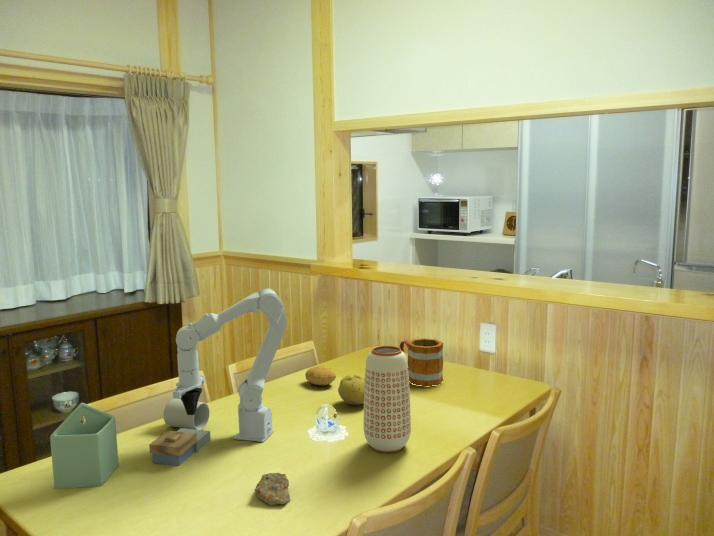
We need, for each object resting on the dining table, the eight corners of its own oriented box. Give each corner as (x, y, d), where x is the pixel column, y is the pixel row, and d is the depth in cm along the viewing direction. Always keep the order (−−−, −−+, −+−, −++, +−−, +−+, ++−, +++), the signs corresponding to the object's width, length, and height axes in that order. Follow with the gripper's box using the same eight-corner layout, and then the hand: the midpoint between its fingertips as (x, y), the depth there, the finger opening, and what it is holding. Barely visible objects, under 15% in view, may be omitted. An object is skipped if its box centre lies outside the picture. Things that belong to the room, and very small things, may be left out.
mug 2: (450, 381, 220) (451, 342, 218) (427, 390, 211) (427, 349, 209) (412, 370, 235) (412, 333, 233) (388, 377, 226) (388, 340, 224)
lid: (196, 441, 163) (196, 430, 163) (179, 456, 155) (179, 444, 154) (168, 438, 165) (167, 428, 165) (149, 452, 157) (148, 441, 156)
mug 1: (160, 424, 177) (190, 429, 173) (167, 395, 180) (197, 400, 176) (182, 429, 188) (211, 433, 184) (189, 402, 190) (218, 406, 187)
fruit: (332, 408, 195) (332, 379, 194) (346, 396, 206) (345, 369, 205) (363, 412, 191) (363, 383, 190) (376, 400, 202) (375, 372, 200)
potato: (323, 378, 227) (322, 360, 226) (341, 386, 216) (341, 368, 215) (302, 382, 221) (301, 365, 220) (320, 392, 211) (319, 373, 210)
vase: (415, 439, 170) (415, 345, 166) (404, 459, 157) (403, 358, 153) (372, 434, 174) (370, 341, 170) (357, 453, 161) (355, 354, 158)
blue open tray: (194, 452, 163) (194, 442, 163) (179, 465, 156) (178, 454, 155) (169, 449, 165) (168, 439, 165) (152, 462, 158) (152, 452, 157)
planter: (67, 498, 140) (60, 419, 137) (54, 488, 145) (47, 411, 142) (132, 473, 152) (127, 400, 149) (117, 464, 157) (112, 393, 154)
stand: (210, 440, 171) (210, 430, 171) (197, 452, 163) (196, 442, 163) (181, 437, 173) (180, 428, 173) (166, 449, 165) (166, 439, 165)
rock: (254, 489, 143) (251, 502, 133) (259, 465, 144) (257, 477, 134) (288, 495, 144) (289, 509, 134) (294, 471, 145) (294, 483, 135)
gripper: (188, 360, 175) (191, 404, 177) (161, 375, 161) (165, 422, 163) (210, 361, 173) (212, 405, 175) (184, 377, 159) (187, 424, 161)
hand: (191, 414), depth 169 cm, fingers closed
